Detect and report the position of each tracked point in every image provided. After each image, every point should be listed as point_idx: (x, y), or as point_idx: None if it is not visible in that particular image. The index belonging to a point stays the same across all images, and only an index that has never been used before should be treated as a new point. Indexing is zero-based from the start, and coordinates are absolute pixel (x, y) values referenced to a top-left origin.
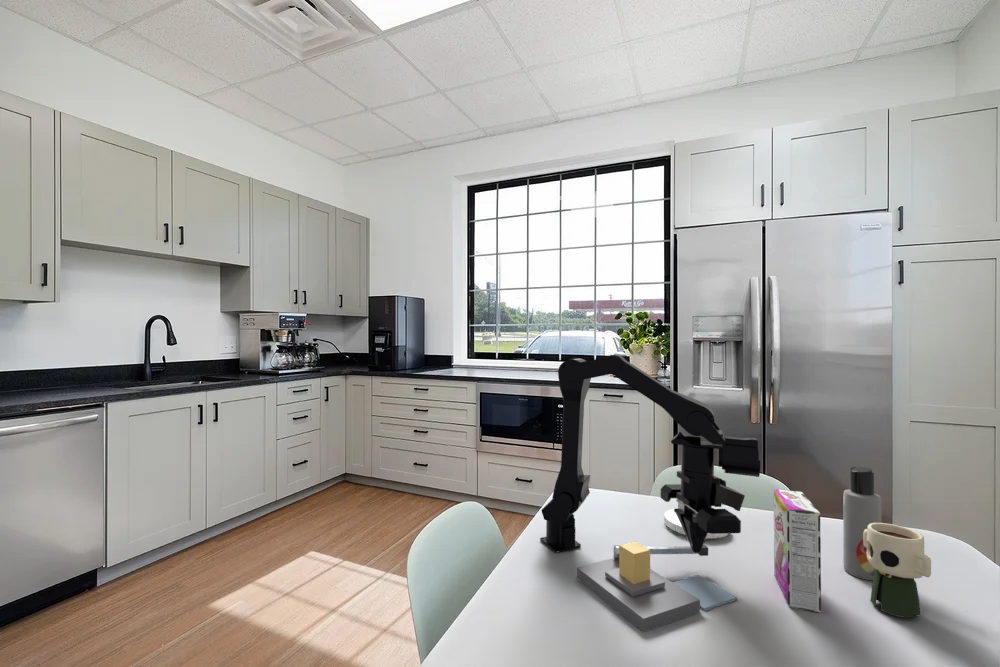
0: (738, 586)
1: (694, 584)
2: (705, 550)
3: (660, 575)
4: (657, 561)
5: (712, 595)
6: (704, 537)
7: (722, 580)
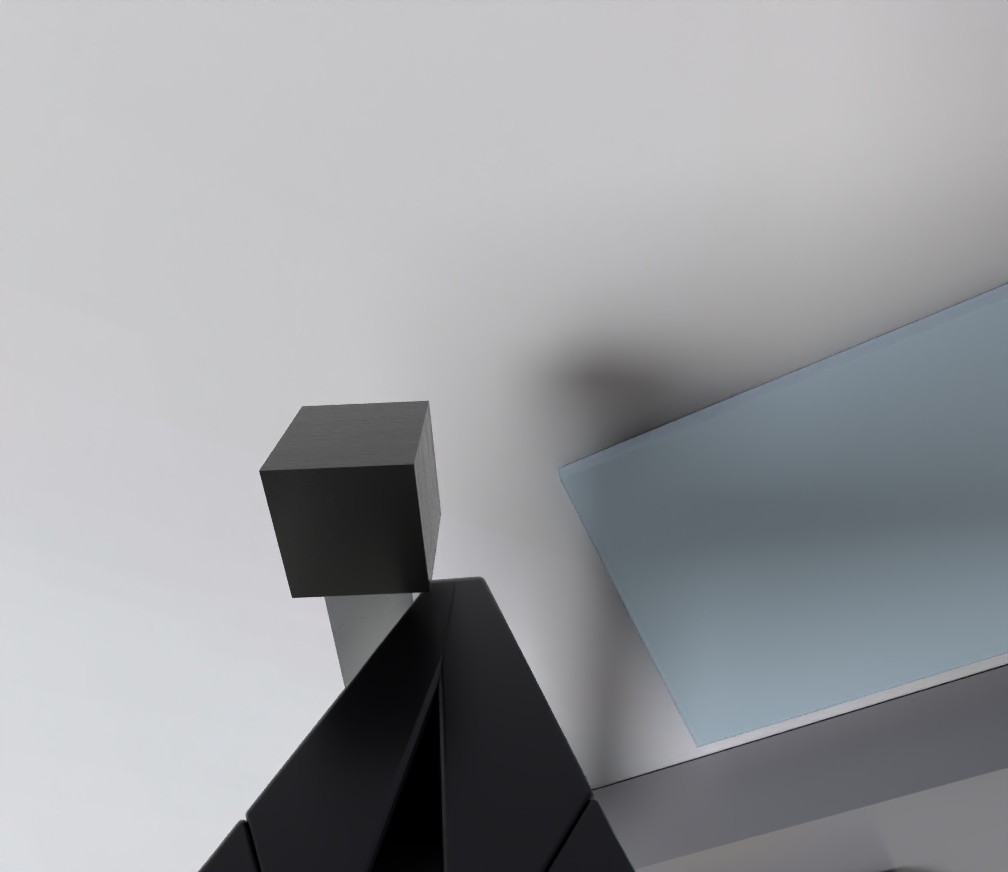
0: (792, 103)
1: (735, 578)
2: (428, 486)
3: (716, 848)
4: (284, 683)
5: (935, 506)
6: (599, 821)
7: (637, 242)
